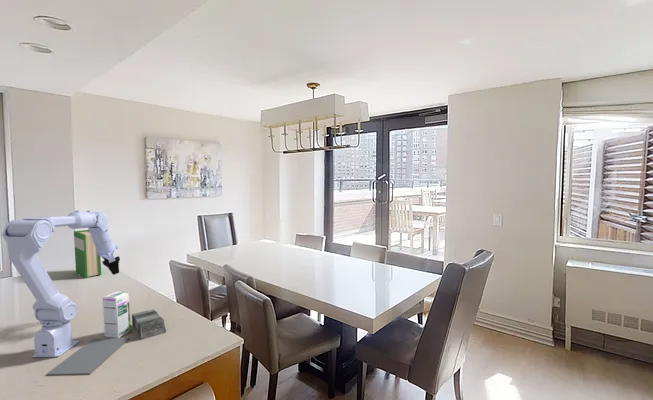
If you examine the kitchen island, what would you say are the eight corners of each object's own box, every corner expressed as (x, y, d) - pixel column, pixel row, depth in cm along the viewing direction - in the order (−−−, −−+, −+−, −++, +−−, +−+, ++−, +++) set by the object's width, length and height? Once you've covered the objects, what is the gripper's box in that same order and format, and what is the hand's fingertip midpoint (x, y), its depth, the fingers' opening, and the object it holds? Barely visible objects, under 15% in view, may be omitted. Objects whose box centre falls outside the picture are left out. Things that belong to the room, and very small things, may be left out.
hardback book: (101, 275, 188) (99, 233, 186) (85, 278, 182) (83, 234, 181) (91, 269, 199) (89, 229, 198) (76, 272, 194) (73, 231, 192)
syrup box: (118, 338, 116) (116, 297, 115) (103, 337, 117) (102, 296, 116) (131, 331, 122) (129, 292, 121) (117, 329, 123) (115, 290, 122)
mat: (90, 374, 95) (89, 373, 95) (46, 375, 95) (46, 374, 95) (129, 339, 116) (129, 338, 116) (93, 339, 115) (93, 338, 115)
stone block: (157, 319, 132) (157, 306, 132) (168, 332, 121) (168, 318, 121) (132, 326, 126) (131, 312, 126) (140, 340, 115) (140, 325, 115)
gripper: (119, 243, 126) (129, 272, 132) (109, 229, 135) (119, 257, 141) (97, 251, 121) (109, 281, 127) (89, 236, 131) (100, 264, 137)
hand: (113, 269), depth 134 cm, fingers open, 7 cm apart
